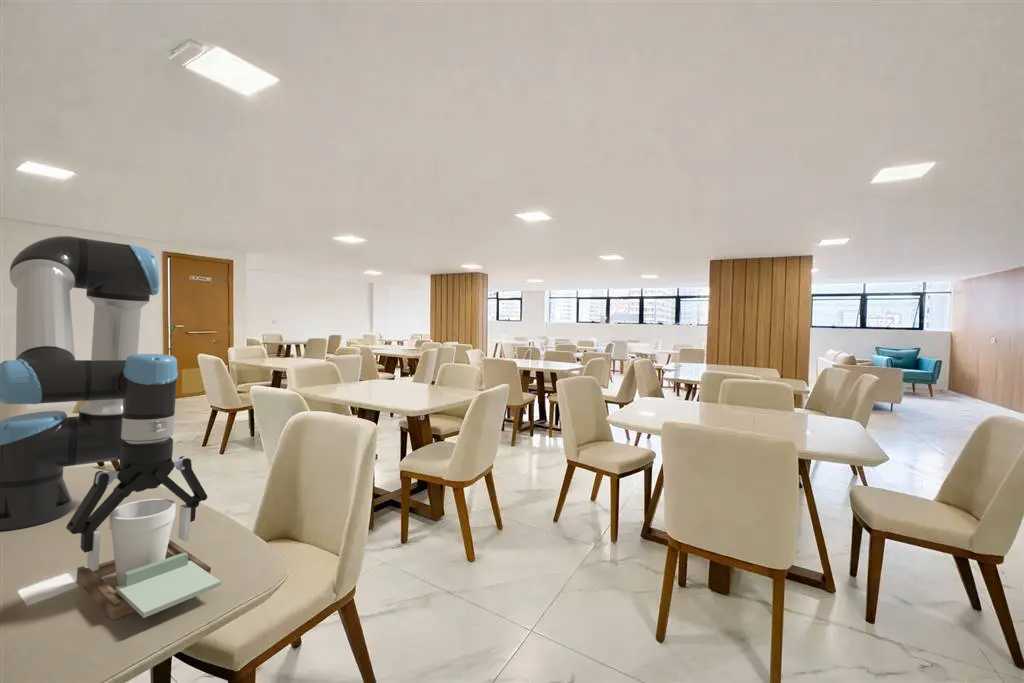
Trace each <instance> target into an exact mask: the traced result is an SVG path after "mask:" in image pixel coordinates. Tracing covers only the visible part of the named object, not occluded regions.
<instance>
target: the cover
mask: <svg viewBox="0 0 1024 683" xmlns="http://www.w3.org/2000/svg"><path fill="white" fill-rule="evenodd" d="M221 584H222V582H221V580H220V579H218V578H216V577H215V576H214V575H213V574H211V573H210V574H209V573H208V572H207V571H205V570H204V569H202V568H201V567H199V566H198V565H197V564H195V563H194V562H192V561H188V554H187V553H186V552H184V553H181V554H178V555H175V556H172V557H169V558H166V559H163V560H160V561H157V562H154V563H151V564H148V565H146V566H143V567H140V568H137V569H134V570H131V571H128V572H125V573H124V584H123V585H120V586H118V585H116V587H115V591H116V592H117V593H118V594H119V595H120V596H121V597H122V598H123V599H124V600H125V601H126V602H127V603H128V604H129V605H130V606H131V607H133V608H134V609H135V610H136V611H135V612H137V613H138V614H139V616H141V617H142V619H145V618H147V617H149V616H152V615H154V614H157V613H159V612H162V611H164V610H166V609H169V608H171V607H173V606H176V605H178V604H180V603H183V602H185V601H187V600H189V599H192V598H195V597H198V596H200V595H202V594H204V593H206V592H209V591H212V590H214V589H216V588H219V587H221Z"/></svg>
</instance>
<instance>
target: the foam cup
mask: <svg viewBox="0 0 1024 683" xmlns="http://www.w3.org/2000/svg"><path fill="white" fill-rule="evenodd" d="M176 509H177V504H176V502H175V501H174V500H171V499H168V498H150V499H149V498H148V499H140V500H135V501H132V502H131V501H130V502H127V503H124V504H122V505H118V506H117V507H116V508H115V509H114V510H113V511H112V512H111V514H110V515H109V522H108V525H109V527H108V528H109V530H110V532H111V540H112V549H113V555H114V559H115V566H116V572H115V573H116V581H117V582H116V583H117V586H118V585H119V586H120V585H123V584H124V573H125V572H128V571H131V570H134V569H137V568H140V567H143V566H146V565H148V564H151V563H154V562H157V561H160V560H163V559H165V556H166V552H167V547H168V543H169V539H170V537H171V534H172V533H171V532H172V527H173V523H174V520H175V518H176Z"/></svg>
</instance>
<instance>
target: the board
mask: <svg viewBox="0 0 1024 683" xmlns="http://www.w3.org/2000/svg"><path fill="white" fill-rule="evenodd" d="M184 552H186V553H187V554H188V561H192V562H194V563H195V564H197V565H198V566H199V567H201V568H202V569H204V570H205V571H207V572H208V573H209V574H211V572H212V571H211V569H212V568H211V567H210V566H209V565H208V564H206V563H205V562H204V561H202V560H200V559H199V558H197V557H196V556H195V555H193V554H191V553H190V552H189V551H187V550H185V549H184V548H183V547H181V546H180V545H178V544H177V543H175V541H173V540H171V539H170V538H169V543H168V547H167V552H166V556H165V559H166V558H169V557H172V556H175V555H178V554H181V553H184ZM111 573H112V574H114V573H116V566H115V558H114V559H111V560H109V561H103V562H102V563H99V570H95V571H92V570H91V569H90V568H89V567H88V566H87V567H85V565H82V566H79V567H77V570H76V583H77V585H79V586H80V587H81V588H82V589H83V590H84V591H85V592H86V594H88V595H89V597H90V598H91V599H93V601H94V602H97V603H98V604H99V605H100V606H99V605H98V604H97V603H96V604H97V605H98V606H99V607H100V608H101V609H102V610H103V611H104V612H105V613H106V614H107V615H108V616H109V617H110V618H111V619H112V620H113V621H114V620H117V619H120V618H123V617H125V616H127V615H130V614H132V613H135V612H137V611H136V610H135V609H134V608H133V607H131V606H130V605H129V604H128V603H127V602H126V601H125V600H124V599H123V598H122V597H121V596H120V595H119V594H118V593H117V592H116V589H114V588H113V587H111V585H109V583H108V582H106V581H105V580H104V578H103V577H105V576H109V575H112V574H111Z"/></svg>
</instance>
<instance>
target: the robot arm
mask: <svg viewBox="0 0 1024 683" xmlns="http://www.w3.org/2000/svg"><path fill="white" fill-rule="evenodd" d="M158 266H159V265H158V262H157V259H156V256H155V254H154V253H153V252H152V251H151V250H150V249H149V248H145V247H141V246H137V245H131V244H124V243H118V242H111V241H110V242H109V241H103V240H98V239H96V240H95V239H89V238H83V237H78V236H69V235H68V236H67V235H63V236H62V235H61V236H59V235H58V236H52V237H47V238H44V239H41V240H38V241H36V242H33V243H32V244H29V245H28V246H26V247H25V248H24V249H22V250H21V251H19V252H18V253H17V255H16V256H15V257H14V258H13V260H12V261H11V264H10V268H9V280H10V283H11V285H12V286H13V287H15V289H16V319H15V320H16V323H15V324H16V325H15V326H16V327H15V328H16V329H15V359H12V360H10V359H9V360H3V361H2V362H1V363H0V403H3V404H6V405H38V404H51V403H52V404H53V403H68V402H85V401H87V402H86V403H85V404H83V405H82V406H81V407H80V408H79V410H78V415H77V416H68V414H67V413H66V412H65V411H63V410H52V411H50V410H48V411H47V410H46V411H45V410H44V411H38V412H37V411H36V412H30V413H23V414H19V415H13V416H10V417H7V418H4V419H0V531H8V530H9V531H10V530H17V529H23V528H28V527H33V526H37V525H41V524H45V523H49V522H51V521H54V520H57V519H59V518H61V517H64V516H65V515H67V514H69V513H70V512H71V511H72V507H73V504H72V503H73V502H72V501H73V499H72V496H71V494H70V491H69V489H68V487H67V484H66V483H65V480H64V468H65V467H74V466H80V465H87V464H89V465H90V464H96V463H103V462H104V463H105V462H111V461H112V462H118V461H119V466H118V468H117V469H116V470H115V471H103V470H98V471H96V472H95V473H94V479H93V484H92V485H91V487H90V489H89V490H88V492H87V493H86V495H85V496H84V498H83V499H82V501H81V503H80V504H79V506H78V508H77V509H76V510H75V512H74V514H73V515H72V516H71V518H70V520H69V521H68V523H67V524H66V527H65V528H66V530H68V531H69V533H71V535H76V534H80V549H81V551H82V552H83V553H87V558H86V561H87V562H86V567H87V568H88V567H89V568H90V569H91V570H92V571H95V570H99V564H100V551H101V531H100V530H99V529H98V528H99V527H100V526H101V525H102V524H103V522H104V521H105V520H106V519H107V518H108V517H110V514H111V512H112V511H113V510H114V509H115V508H116V507H119V506H120V504H121V503H122V502H123V501H124V499H126V498H128V497H130V495H131V494H132V493H133V492H136V493H141V492H143V491H146V490H153V489H157V488H158V487H159V486H161V485H163V486H164V487H166V488H167V490H169V491H170V492H171V493H173V494H174V495H175V496H176V497H178V498H179V499H180V500H181V501H182V502H184V503H185V504H180V505H179V518H178V519H179V522H178V534H177V535H178V539H180V540H181V541H182V542H185V543H186V542H189V541H190V534H191V533H190V530H191V522H194V521H195V519H196V513H197V512H196V509H197V508H199V505H200V502H202V501H206V500H208V494H207V492H206V491H205V489H204V487H203V486H202V484H201V482H200V480H199V479H198V478H197V475H196V474H195V472H194V470H193V468H192V459H190V458H189V457H186V456H183V455H182V456H180V457H178V459H174V460H173V449H174V438H172V436H173V435H174V432H175V431H174V429H175V415H176V414H175V412H176V410H175V409H176V399H177V398H176V396H177V379H178V377H179V371H178V360H177V358H176V357H175V356H174V355H172V354H163V353H162V354H161V353H159V354H158V353H138V352H139V343H140V342H139V341H140V340H139V338H140V328H141V327H140V325H141V311H142V308H143V307H144V306H146V305H147V304H149V303H150V297H151V296H156V295H157V294H158V293H159V291H160V290H159V287H160V273H159V267H158ZM73 288H75V289H83V290H86V296H85V297H86V298H87V299H88V300H89V301H91V303H93V305H94V311H93V323H92V324H93V325H92V326H93V327H92V338H91V339H92V340H91V341H92V342H91V343H92V344H91V356H90V357H91V358H90V359H85V360H84V359H82V360H81V359H76V355H75V354H76V353H75V352H76V351H75V344H74V342H75V341H74V330H73V318H72V306H71V305H72V302H71V294H70V293H71V292H70V291H71V290H73ZM173 469H176V470H178V471H179V472H180V473H181V475H182V477H183V478H184V480H185V482H186V483H187V485H188V487H189V488H190V490H191V493H192V494H193V495H192V496H191V494H189V493H188V492H186V491H185V489H183V488H182V487H181V486H180V485H178V484H177V483H176V482H175V481H174V480H173V479H172V478H170V477H169V475H170V473H171V472H172V471H173ZM116 479H117V480H118V481H119V483H118V484H117V485H116V486H115V487H114V489H113V491H112V492H111V493H110V494H109V495H108V496H107V497H106V498H105V500H103V502H102V503H101V504H100V505H99V506H98V507H97V508H96V506H97V505H98V503H99V502H100V500H101V498H102V497H103V495H104V493H105V492H106V490H107V488H108V486H109V485H111V484H112V483H113V481H114V480H116ZM95 508H96V509H95Z"/></svg>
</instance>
